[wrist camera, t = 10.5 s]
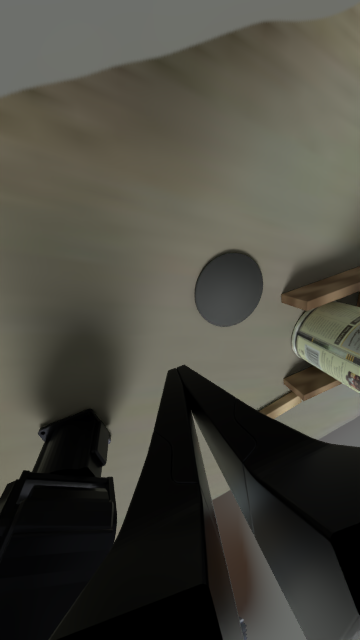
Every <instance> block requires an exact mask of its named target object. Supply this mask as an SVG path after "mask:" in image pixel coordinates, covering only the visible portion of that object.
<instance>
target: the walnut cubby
mask: <svg viewBox="0 0 360 640" xmlns="http://www.w3.org/2000/svg"><path fill="white" fill-rule="evenodd" d="M358 291H359V295H358V302H357V307H360V266H359V267H356V268H353V269H351V270H348V271H345V272H342V273H339V274H337V275H334V276H331V277H328V278H326V279H323V280H320V281H317V282H314V283H312V284H309V285H306V286H303V287H300V288H298V289H295V290H292V291H289V292H287V293H284V294H281V296H282V303H285V304H288V305H291V306H294V307H297V308H299V309H302V310H305V311H309V310H311V309H314V308H316V307H319V306H322V305H324V304H327V303H329V302H332V301H335V300H337V299H340V298H342V297H345V296H348V295H350V294H353V293H356V292H358ZM340 384H342V383H341V382H340V381H338V380H337V379H335V378H333V377H332V376H330V375H328V374H327V373H325V372H323V371H322V370H320V369H319V368H317V367H315V366H312V367H309V368H307V369H305V370H302V371H300V372H298V373H296V374H293V375H291V376H289V377H286V378H284V385H286V386H287V387H288V388H289V389H290V390H292V391H293V392H294V393H295V394H296V395H297V396H299V397H300V398H301V399H302V400H303V401H305V400H307V399H310V398H312V397H314V396H316V395H318V394H320V393H322V392H325V391H327V390H329V389H331V388H333V387H335V386H337V385H340Z"/></svg>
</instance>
